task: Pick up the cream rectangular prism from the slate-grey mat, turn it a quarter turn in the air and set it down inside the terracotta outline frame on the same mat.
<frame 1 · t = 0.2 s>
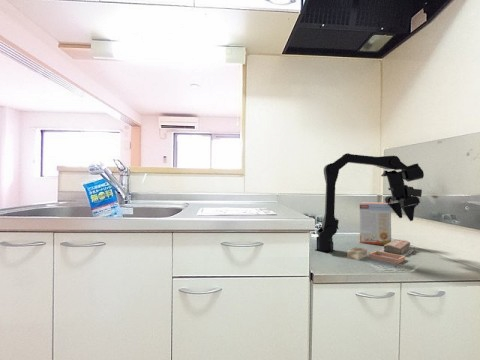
hand: (406, 219, 114), 15 cm above the countertop, tool pointing down, fingers open, 9 cm apart
mat: (374, 259, 108), on the countertop
cream rectangular prism: (357, 256, 110), resting on mat
cracker box: (375, 243, 135), on the countertop
frame: (386, 259, 107), resting on mat
packaged product: (396, 253, 118), on the countertop
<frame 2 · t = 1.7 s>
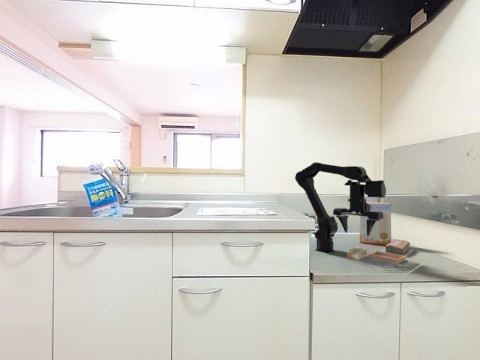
hand: (356, 234, 110), 10 cm above the countertop, tool pointing down, fingers open, 9 cm apart
nothing on the countertop moved.
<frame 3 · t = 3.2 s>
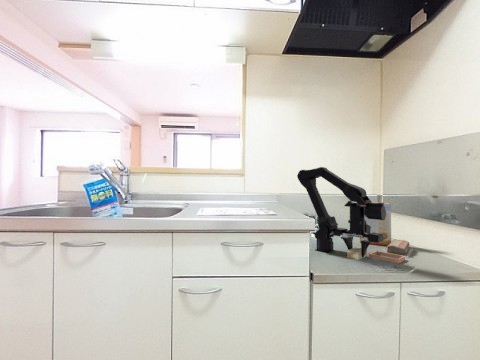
hand: (357, 255, 110), 1 cm above the countertop, tool pointing down, fingers closed on cream rectangular prism, 4 cm apart
cream rectangular prism: (357, 256, 110), resting on mat, touching gripper
everything else where it was.
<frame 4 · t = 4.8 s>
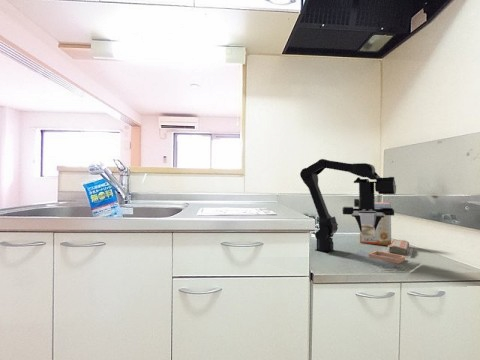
hand: (367, 231, 109), 11 cm above the countertop, tool pointing down, fingers closed on cream rectangular prism, 4 cm apart
cream rectangular prism: (367, 233, 109), point 10 cm above the countertop, touching gripper
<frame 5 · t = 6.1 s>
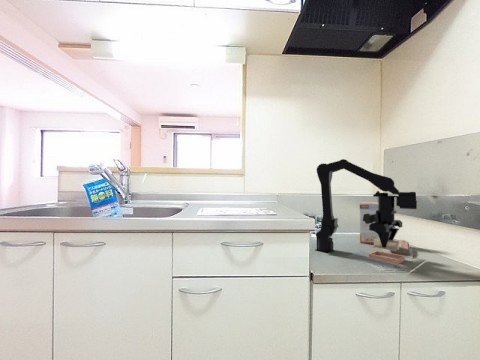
hand: (386, 246, 107), 5 cm above the countertop, tool pointing down, fingers closed on cream rectangular prism, 4 cm apart
cream rectangular prism: (386, 247, 107), point 5 cm above the countertop, touching gripper
when the fingers open (3 cm above the countertop, at t = 6.9 s): cream rectangular prism drops 2 cm, resting on mat.
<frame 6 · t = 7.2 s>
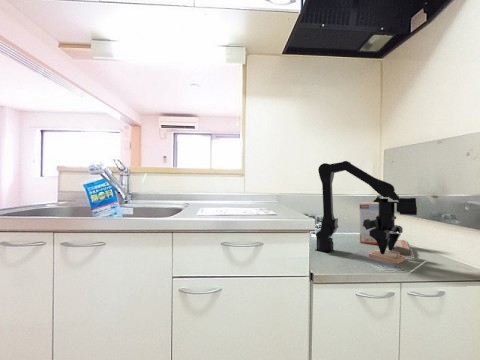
hand: (386, 252, 107), 3 cm above the countertop, tool pointing down, fingers open, 8 cm apart
cream rectangular prism: (386, 258, 107), resting on mat
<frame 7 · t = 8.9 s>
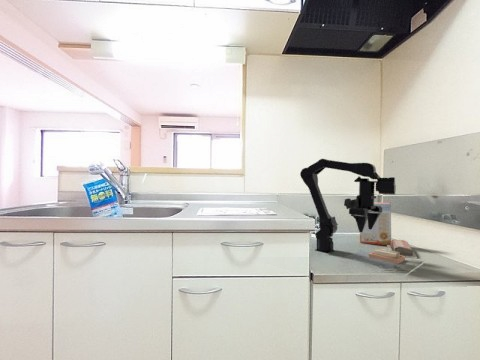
hand: (365, 230, 110), 11 cm above the countertop, tool pointing down, fingers open, 9 cm apart
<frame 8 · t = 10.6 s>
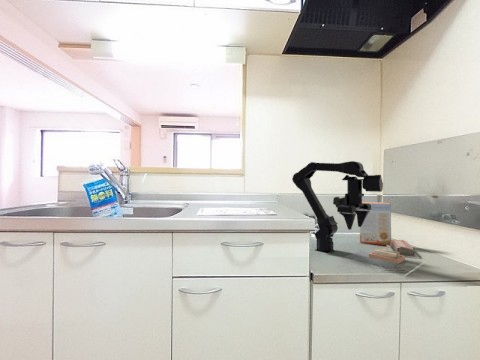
hand: (354, 228, 112), 12 cm above the countertop, tool pointing down, fingers open, 9 cm apart
at the end: cream rectangular prism 0.0 cm off-centre on the frame, point 0.4 cm above the frame's base; cream rectangular prism tilted 0°; the gripper is holding nothing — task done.
